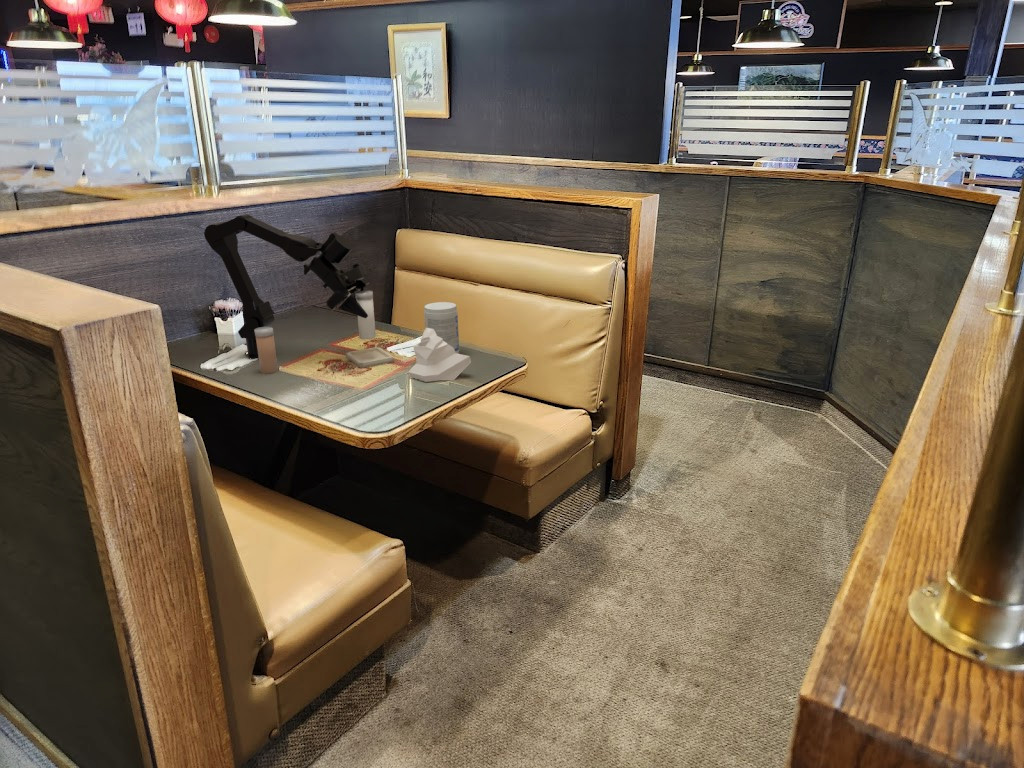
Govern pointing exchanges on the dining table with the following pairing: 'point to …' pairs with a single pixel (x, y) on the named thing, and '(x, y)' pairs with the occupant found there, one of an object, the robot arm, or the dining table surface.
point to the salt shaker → (367, 323)
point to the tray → (369, 357)
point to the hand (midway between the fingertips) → (370, 314)
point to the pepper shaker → (266, 349)
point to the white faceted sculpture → (436, 359)
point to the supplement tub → (443, 322)
